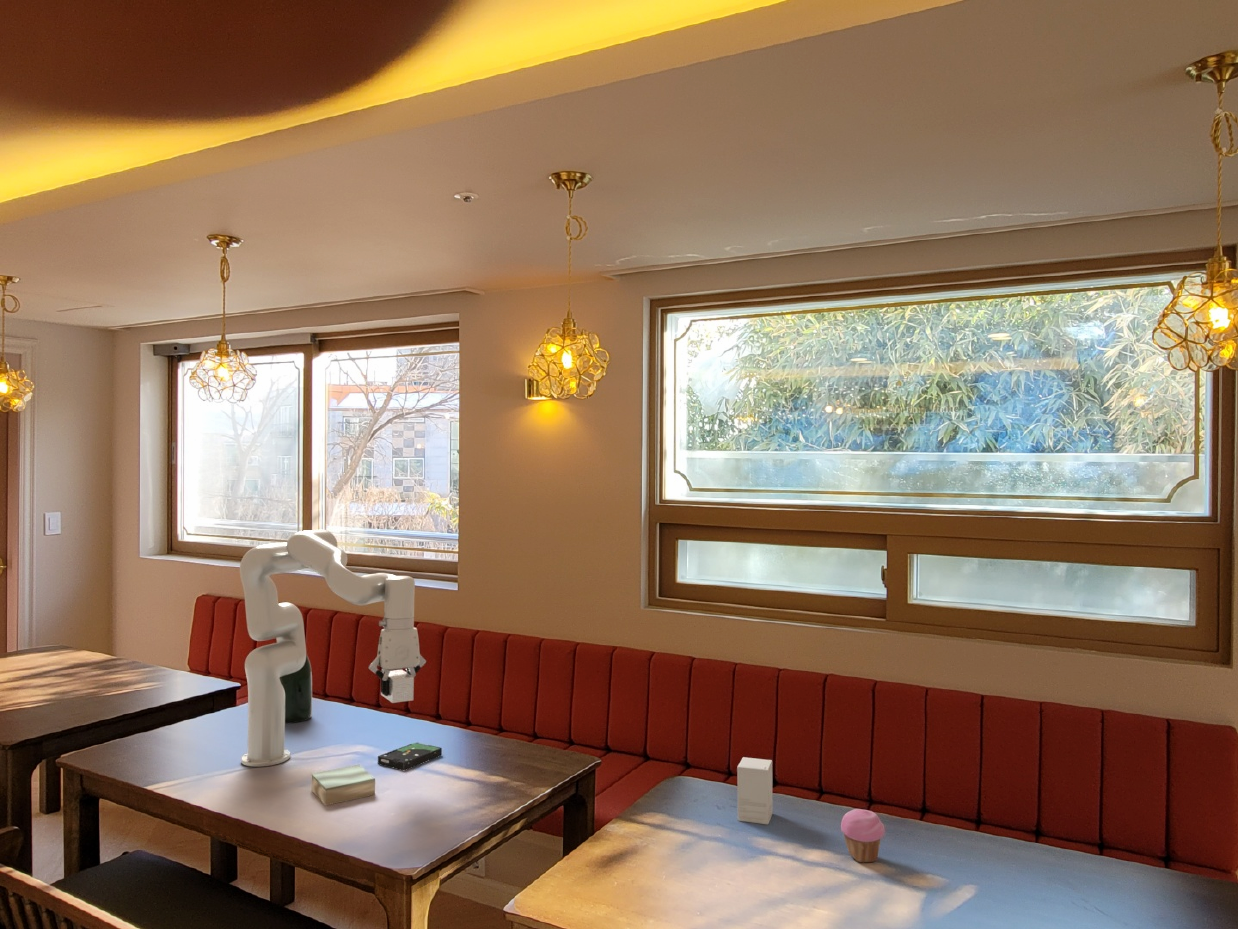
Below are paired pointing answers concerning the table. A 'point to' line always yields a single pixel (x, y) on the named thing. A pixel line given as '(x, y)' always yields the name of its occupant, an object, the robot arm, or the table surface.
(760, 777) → the supplement box
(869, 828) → the cupcake
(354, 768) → the stand
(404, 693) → the block
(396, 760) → the disk drive
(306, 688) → the beer bottle
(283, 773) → the table surface
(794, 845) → the table surface
